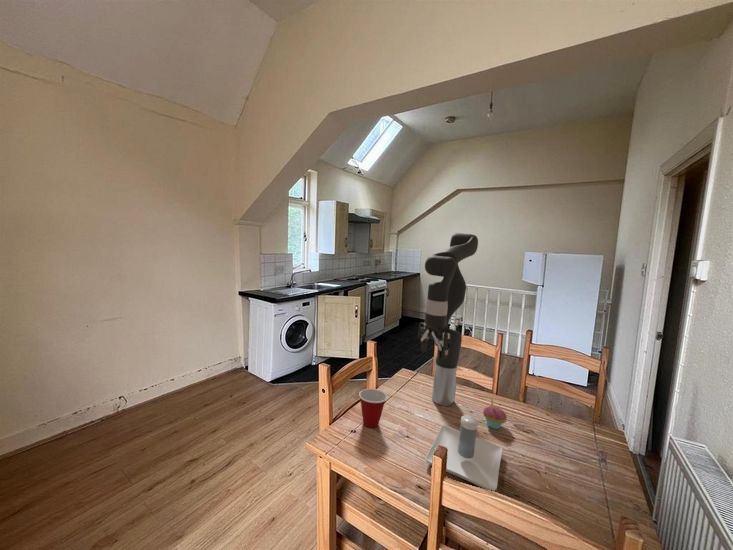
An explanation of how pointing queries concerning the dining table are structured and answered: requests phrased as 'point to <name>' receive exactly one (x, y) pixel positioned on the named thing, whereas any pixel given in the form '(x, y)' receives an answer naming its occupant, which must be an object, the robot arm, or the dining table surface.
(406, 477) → the dining table surface
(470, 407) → the dining table surface
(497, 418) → the cupcake
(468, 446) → the shaker
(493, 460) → the salad plate
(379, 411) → the plastic cup
